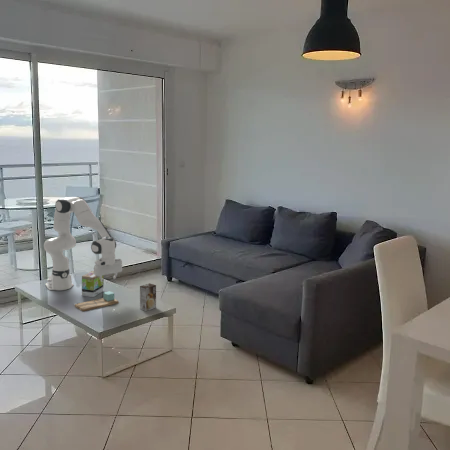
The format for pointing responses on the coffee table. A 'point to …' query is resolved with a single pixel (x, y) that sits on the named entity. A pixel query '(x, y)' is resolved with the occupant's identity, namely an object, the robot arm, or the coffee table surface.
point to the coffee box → (147, 297)
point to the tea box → (91, 284)
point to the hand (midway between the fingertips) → (108, 280)
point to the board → (95, 304)
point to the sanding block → (108, 296)
